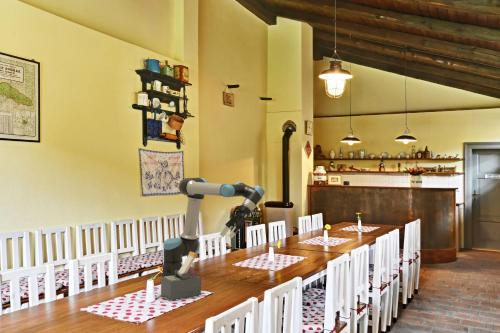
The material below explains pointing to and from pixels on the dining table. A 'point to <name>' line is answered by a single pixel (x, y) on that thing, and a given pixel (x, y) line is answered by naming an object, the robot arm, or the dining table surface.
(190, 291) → the box
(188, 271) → the vegetable
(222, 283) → the dining table surface
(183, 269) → the lever
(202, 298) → the dining table surface
